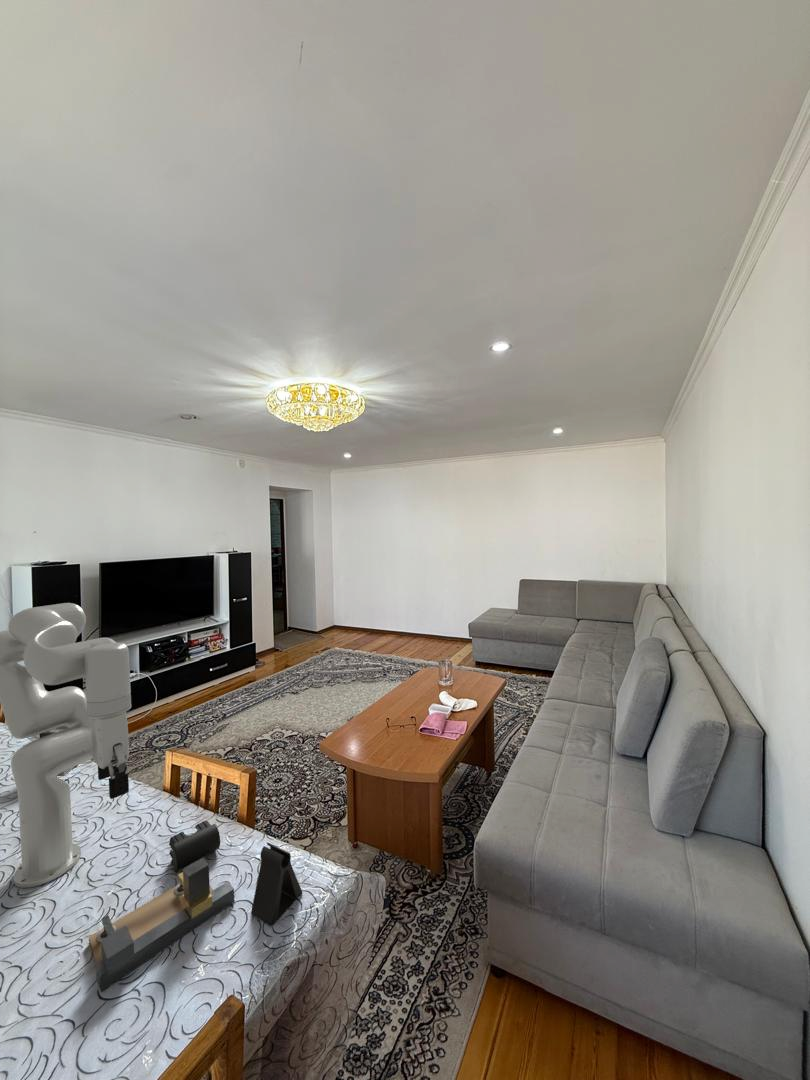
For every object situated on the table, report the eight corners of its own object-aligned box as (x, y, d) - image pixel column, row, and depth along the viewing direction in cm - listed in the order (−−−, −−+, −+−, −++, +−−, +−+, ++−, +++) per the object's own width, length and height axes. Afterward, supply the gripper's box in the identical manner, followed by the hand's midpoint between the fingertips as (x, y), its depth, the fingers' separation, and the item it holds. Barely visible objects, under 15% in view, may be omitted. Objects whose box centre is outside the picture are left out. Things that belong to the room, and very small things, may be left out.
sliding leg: (171, 890, 92) (169, 849, 92) (190, 879, 95) (188, 839, 95) (192, 924, 84) (190, 879, 84) (212, 910, 87) (210, 867, 87)
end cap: (177, 879, 98) (176, 851, 98) (168, 863, 103) (167, 836, 103) (221, 855, 105) (220, 828, 105) (210, 841, 110) (209, 815, 110)
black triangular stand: (283, 883, 96) (281, 831, 96) (302, 894, 93) (300, 840, 93) (250, 914, 88) (248, 858, 88) (270, 927, 85) (268, 869, 85)
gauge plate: (89, 944, 83) (88, 935, 83) (199, 878, 98) (199, 870, 98) (98, 972, 77) (97, 963, 77) (214, 897, 93) (213, 890, 93)
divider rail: (87, 951, 82) (86, 920, 81) (213, 875, 99) (212, 849, 99) (102, 996, 73) (100, 963, 73) (236, 904, 91) (235, 877, 91)
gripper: (78, 699, 91) (82, 778, 91) (96, 722, 79) (101, 813, 79) (119, 689, 96) (123, 763, 96) (142, 709, 84) (146, 794, 85)
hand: (113, 785), depth 88 cm, fingers open, 9 cm apart
